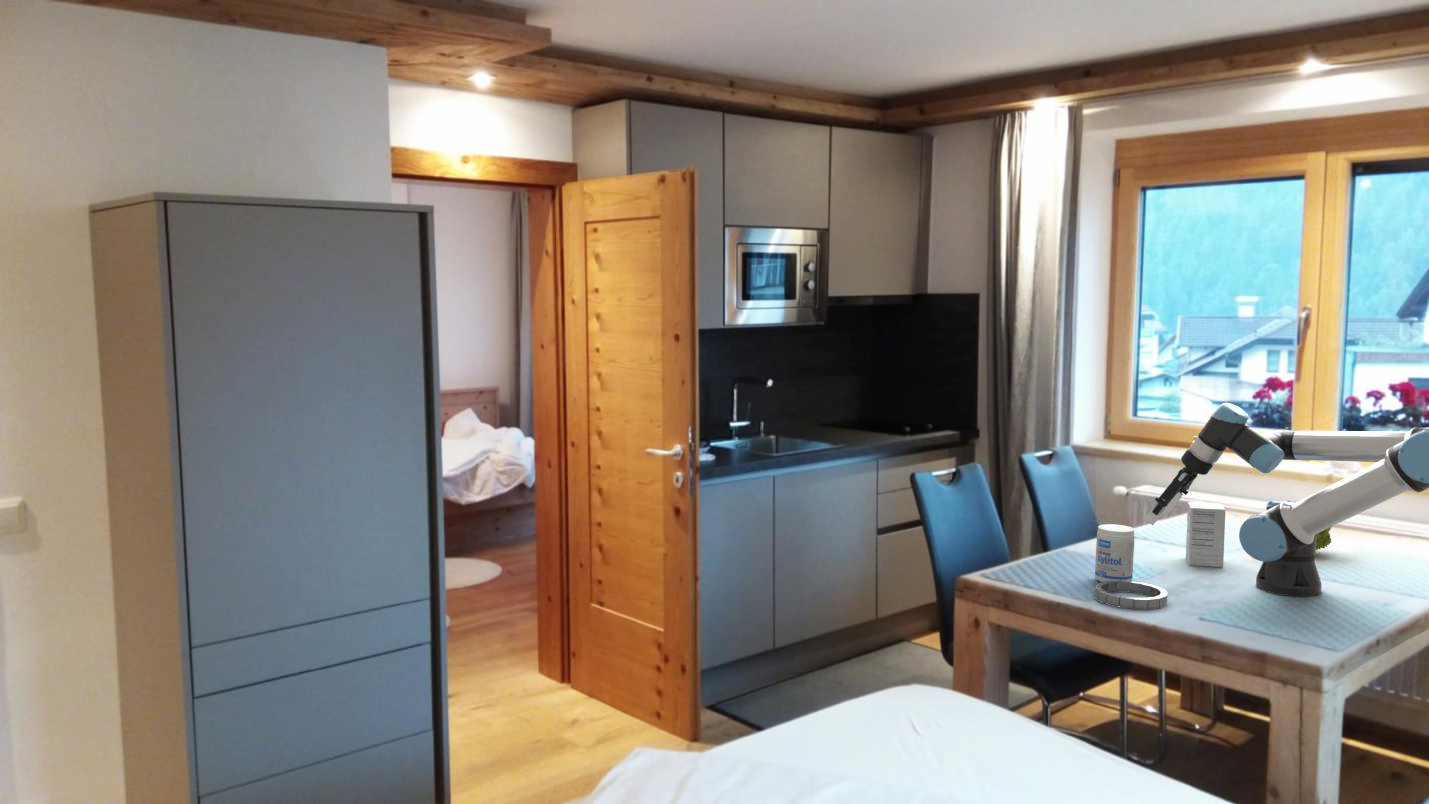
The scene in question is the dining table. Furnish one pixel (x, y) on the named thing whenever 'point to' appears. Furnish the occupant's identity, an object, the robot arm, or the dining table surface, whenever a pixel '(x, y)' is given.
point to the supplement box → (1205, 534)
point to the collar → (1134, 603)
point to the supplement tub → (1114, 553)
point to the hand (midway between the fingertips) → (1157, 515)
